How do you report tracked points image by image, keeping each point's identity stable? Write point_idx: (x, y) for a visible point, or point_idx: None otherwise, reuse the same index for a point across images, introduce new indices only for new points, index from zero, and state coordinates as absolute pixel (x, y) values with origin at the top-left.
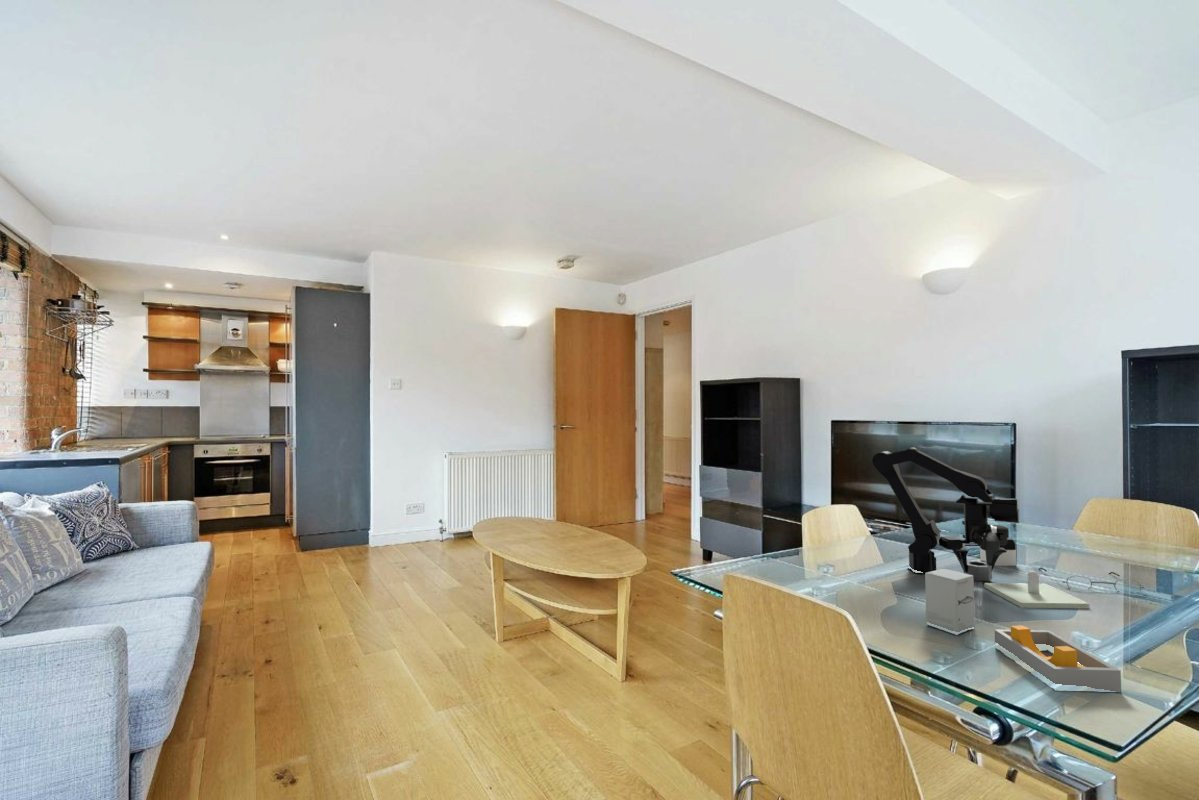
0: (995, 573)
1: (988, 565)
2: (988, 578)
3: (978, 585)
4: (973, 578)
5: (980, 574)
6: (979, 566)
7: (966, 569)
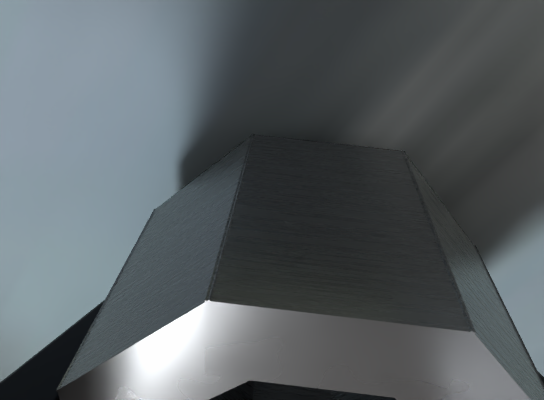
0: None
1: (136, 383)
2: (255, 152)
3: (512, 24)
4: (447, 216)
5: (400, 203)
6: (419, 354)
7: None
